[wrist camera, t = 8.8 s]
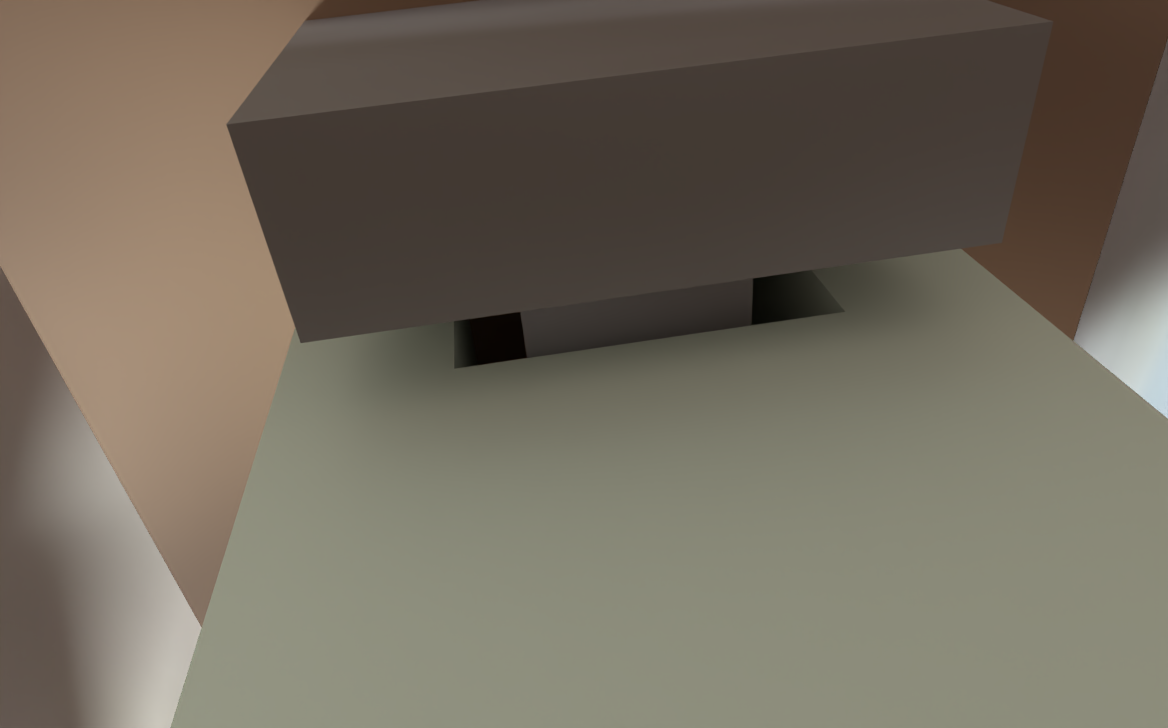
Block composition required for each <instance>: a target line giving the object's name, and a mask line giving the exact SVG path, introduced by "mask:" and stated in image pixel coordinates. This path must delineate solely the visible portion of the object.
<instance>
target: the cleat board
mask: <svg viewBox="0 0 1168 728" xmlns="http://www.w3.org/2000/svg"><path fill="white" fill-rule="evenodd" d="M1167 39H1168V0H0V267H1V268H2V270H3V272H4V274H5V276H6V277H7V279H8V281H9V283H10V285H11V286H12V288H13V290H14V292H15V294H16V295H17V297H18V299H19V301H20V303H21V304H22V306H23V308H24V310H25V312H26V313H27V315H28V317H29V319H30V320H31V322H32V324H33V326H34V328H35V329H36V331H37V333H38V335H39V337H40V338H41V340H42V342H43V344H44V346H45V347H46V349H47V351H48V353H49V355H50V356H51V358H52V360H53V362H54V364H55V365H56V367H57V369H58V371H59V372H60V374H61V376H62V378H63V380H64V381H65V383H66V385H67V387H68V389H69V390H70V392H71V394H72V396H73V398H74V399H75V401H76V403H77V405H78V407H79V408H80V410H81V412H82V414H83V416H84V417H85V419H86V421H87V423H88V424H89V426H90V428H91V430H92V432H93V433H94V435H95V437H96V439H97V441H98V442H99V444H100V446H101V448H102V450H103V451H104V453H105V455H106V457H107V459H108V460H109V462H110V464H111V466H112V467H113V469H114V471H115V473H116V475H117V476H118V478H119V480H120V482H121V484H122V485H123V487H124V489H125V491H126V493H127V494H128V496H129V498H130V500H131V502H132V503H133V505H134V507H135V509H136V511H137V512H138V514H139V516H140V518H141V519H142V521H143V523H144V525H145V527H146V528H147V530H148V532H149V534H150V536H151V537H152V539H153V541H154V543H155V545H156V546H157V548H158V550H159V552H160V554H161V555H162V557H163V559H164V561H165V563H166V564H167V566H168V568H169V570H170V571H171V573H172V575H173V577H174V579H175V580H176V582H177V584H178V586H179V588H180V589H181V591H182V593H183V595H184V597H185V598H186V600H187V602H188V604H189V606H190V607H191V609H192V611H193V613H194V615H195V616H196V618H197V620H198V622H199V623H200V625H201V627H202V625H203V622H204V619H205V616H206V612H207V609H208V606H209V603H210V600H211V596H212V593H213V590H214V587H215V584H216V580H217V577H218V574H219V571H220V567H221V564H222V561H223V558H224V555H225V551H226V548H227V545H228V542H229V539H230V535H231V532H232V529H233V526H234V523H235V519H236V516H237V513H238V510H239V506H240V503H241V500H242V497H243V494H244V490H245V487H246V484H247V481H248V478H249V474H250V471H251V468H252V465H253V461H254V458H255V455H256V452H257V449H258V445H259V442H260V439H261V436H262V433H263V429H264V426H265V423H266V420H267V417H268V413H269V410H270V407H271V404H272V400H273V397H274V394H275V391H276V388H277V384H278V381H279V378H280V375H281V372H282V368H283V365H284V362H285V359H286V356H287V352H288V349H289V346H290V343H291V339H292V336H293V333H294V330H295V328H296V331H297V334H298V337H299V340H300V343H306V342H313V341H320V340H327V339H334V338H341V337H348V336H355V335H362V334H369V333H376V332H383V331H390V330H397V329H403V328H410V327H417V326H424V325H431V324H438V323H445V322H452V321H459V320H466V319H469V321H470V326H471V331H472V337H473V342H474V347H475V352H476V358H477V363H478V365H483V364H490V363H497V362H504V361H511V360H518V359H525V358H531V357H538V356H545V355H552V354H559V353H566V352H572V351H579V350H586V349H593V348H600V347H607V346H614V345H620V344H627V343H634V342H641V341H648V340H655V339H662V338H668V337H675V336H682V335H689V334H696V333H703V332H710V331H716V330H723V329H730V328H737V327H744V326H751V320H752V295H753V278H759V277H766V276H773V275H780V274H787V273H794V272H801V271H808V270H815V269H822V268H829V267H836V266H843V265H850V264H857V263H864V262H871V261H878V260H885V259H892V258H899V257H906V256H913V255H920V254H927V253H934V252H941V251H948V250H955V249H962V250H963V251H964V252H966V253H967V254H968V255H969V256H971V257H972V258H973V259H974V260H975V261H977V262H978V263H979V264H980V265H981V266H983V267H984V268H985V269H986V270H988V271H989V272H990V273H991V274H992V275H994V276H995V277H996V278H997V279H998V280H1000V281H1001V282H1002V283H1003V284H1005V285H1006V286H1007V287H1008V288H1009V289H1011V290H1012V291H1013V292H1014V293H1015V294H1017V295H1018V296H1019V297H1020V298H1022V299H1023V300H1024V301H1025V302H1026V303H1028V304H1029V305H1030V306H1031V307H1032V308H1034V309H1035V310H1036V311H1037V312H1039V313H1040V314H1041V315H1042V316H1043V317H1045V318H1046V319H1047V320H1048V321H1049V322H1051V323H1052V324H1053V325H1054V326H1056V327H1057V328H1058V329H1059V330H1060V331H1062V332H1063V333H1064V334H1065V335H1066V336H1068V337H1069V338H1070V339H1071V340H1074V336H1075V333H1076V330H1077V327H1078V324H1079V320H1080V317H1081V314H1082V311H1083V308H1084V304H1085V301H1086V298H1087V295H1088V292H1089V288H1090V285H1091V282H1092V279H1093V276H1094V272H1095V269H1096V266H1097V263H1098V260H1099V256H1100V253H1101V250H1102V247H1103V244H1104V240H1105V237H1106V234H1107V231H1108V228H1109V224H1110V221H1111V218H1112V215H1113V212H1114V208H1115V205H1116V202H1117V199H1118V196H1119V192H1120V189H1121V186H1122V183H1123V180H1124V176H1125V173H1126V170H1127V167H1128V164H1129V160H1130V157H1131V154H1132V151H1133V148H1134V144H1135V141H1136V138H1137V135H1138V132H1139V128H1140V125H1141V122H1142V119H1143V116H1144V112H1145V109H1146V106H1147V103H1148V100H1149V96H1150V93H1151V90H1152V87H1153V84H1154V81H1155V77H1156V74H1157V71H1158V68H1159V65H1160V61H1161V58H1162V55H1163V52H1164V49H1165V45H1166V42H1167Z"/></svg>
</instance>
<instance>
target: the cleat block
mask: <svg viewBox="0 0 1168 728" xmlns="http://www.w3.org/2000/svg"><path fill="white" fill-rule="evenodd" d="M171 728H1168V419H1167V418H1166V417H1165V416H1164V415H1162V414H1161V413H1160V412H1159V411H1158V410H1156V409H1155V408H1154V407H1153V406H1151V405H1150V404H1149V403H1148V402H1147V401H1145V400H1144V399H1143V398H1142V397H1141V396H1139V395H1138V394H1137V393H1136V392H1134V391H1133V390H1132V389H1131V388H1130V387H1128V386H1127V385H1126V384H1125V383H1124V382H1122V381H1121V380H1120V379H1119V378H1117V377H1116V376H1115V375H1114V374H1113V373H1111V372H1110V371H1109V370H1108V369H1107V368H1105V367H1104V366H1103V365H1102V364H1100V363H1099V362H1098V361H1097V360H1096V359H1094V358H1093V357H1092V356H1091V355H1090V354H1088V353H1087V352H1086V351H1085V350H1083V349H1082V348H1081V347H1080V346H1079V345H1077V344H1076V343H1075V342H1074V341H1073V340H1071V339H1070V338H1069V337H1068V336H1066V335H1065V334H1064V333H1063V332H1062V331H1060V330H1059V329H1058V328H1057V327H1056V326H1054V325H1053V324H1052V323H1051V322H1049V321H1048V320H1047V319H1046V318H1045V317H1043V316H1042V315H1041V314H1040V313H1039V312H1037V311H1036V310H1035V309H1034V308H1032V307H1031V306H1030V305H1029V304H1028V303H1026V302H1025V301H1024V300H1023V299H1022V298H1020V297H1019V296H1018V295H1017V294H1015V293H1014V292H1013V291H1012V290H1011V289H1009V288H1008V287H1007V286H1006V285H1005V284H1003V283H1002V282H1001V281H1000V280H998V279H997V278H996V277H995V276H994V275H992V274H991V273H990V272H989V271H988V270H986V269H985V268H984V267H983V266H981V265H980V264H979V263H978V262H977V261H975V260H974V259H973V258H972V257H971V256H969V255H968V254H967V253H966V252H964V251H963V250H962V249H955V250H948V251H941V252H934V253H927V254H920V255H913V256H906V257H899V258H892V259H885V260H878V261H871V262H864V263H857V264H850V265H843V266H836V267H829V268H822V269H815V270H808V271H801V272H794V273H787V274H780V275H773V276H766V277H759V278H753V295H752V320H751V326H744V327H737V328H730V329H723V330H716V331H710V332H703V333H696V334H689V335H682V336H675V337H668V338H662V339H655V340H648V341H641V342H634V343H627V344H620V345H614V346H607V347H600V348H593V349H586V350H579V351H572V352H566V353H559V354H552V355H545V356H538V357H531V358H525V359H518V360H511V361H504V362H497V363H490V364H483V365H478V363H477V358H476V352H475V347H474V342H473V337H472V331H471V326H470V321H469V319H466V320H459V321H452V322H445V323H438V324H431V325H424V326H417V327H410V328H403V329H397V330H390V331H383V332H376V333H369V334H362V335H355V336H348V337H341V338H334V339H327V340H320V341H313V342H306V343H300V340H299V337H298V334H297V331H296V328H295V330H294V333H293V336H292V339H291V343H290V346H289V349H288V352H287V356H286V359H285V362H284V365H283V368H282V372H281V375H280V378H279V381H278V384H277V388H276V391H275V394H274V397H273V400H272V404H271V407H270V410H269V413H268V417H267V420H266V423H265V426H264V429H263V433H262V436H261V439H260V442H259V445H258V449H257V452H256V455H255V458H254V461H253V465H252V468H251V471H250V474H249V478H248V481H247V484H246V487H245V490H244V494H243V497H242V500H241V503H240V506H239V510H238V513H237V516H236V519H235V523H234V526H233V529H232V532H231V535H230V539H229V542H228V545H227V548H226V551H225V555H224V558H223V561H222V564H221V567H220V571H219V574H218V577H217V580H216V584H215V587H214V590H213V593H212V596H211V600H210V603H209V606H208V609H207V612H206V616H205V619H204V622H203V625H202V628H201V632H200V635H199V638H198V641H197V645H196V648H195V651H194V654H193V657H192V661H191V664H190V667H189V670H188V673H187V677H186V680H185V683H184V686H183V689H182V693H181V696H180V699H179V702H178V706H177V709H176V712H175V715H174V718H173V722H172V725H171Z"/></svg>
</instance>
